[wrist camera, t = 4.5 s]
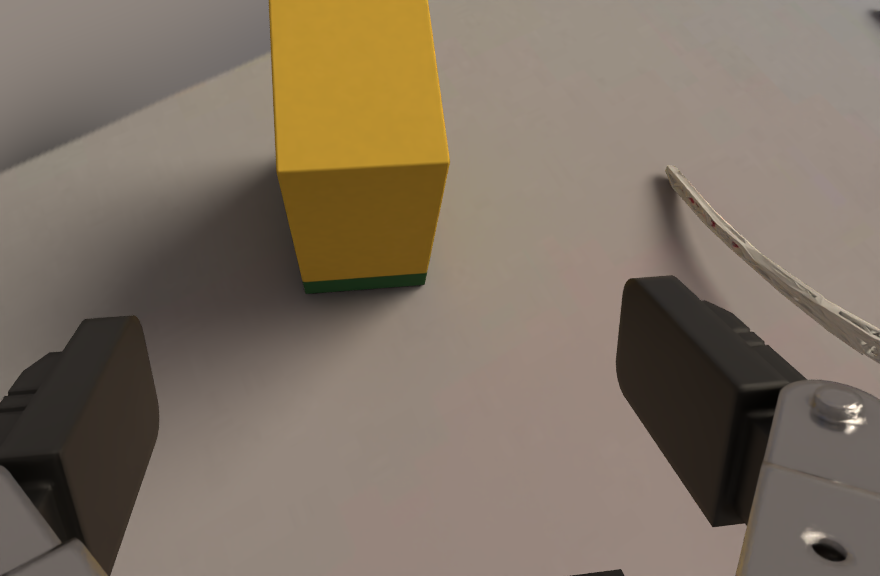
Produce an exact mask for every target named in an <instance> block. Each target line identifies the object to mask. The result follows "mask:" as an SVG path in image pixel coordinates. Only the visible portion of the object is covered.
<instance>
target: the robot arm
mask: <svg viewBox="0 0 880 576" xmlns="http://www.w3.org/2000/svg"><path fill="white" fill-rule="evenodd" d="M616 372H617V378H618V382H619V386H620V389H621V391H622V393H623V395H624V397H625V398H626V400H627V401H628V403H629V404H630V406H631V407H632V408H633V410H634V411H635V413H636V414H637V416H638V417H639V419H640V420H641V422H642V423H643V425H644V426H645V428H646V429H647V431H648V432H649V434H650V435H651V437H652V438H653V440H654V441H655V443H656V444H657V446H658V447H659V448H660V450H661V451H662V453H663V454H664V456H665V457H666V459H667V460H668V462H669V463H670V465H671V466H672V468H673V469H674V471H675V472H676V474H677V475H678V477H679V478H680V480H681V481H682V483H683V484H684V485H685V487H686V488H687V490H688V491H689V493H690V494H691V496H692V497H693V499H694V500H695V502H696V503H697V505H698V506H699V508H700V509H701V511H702V512H703V514H704V515H705V517H706V518H707V520H708V521H709V523H710V524H711V525H712V527H718V526H727V525H735V524H743V523H745V524H746V525H747V529H746V533H745V537H744V542H743V546H742V550H741V554H740V559H739V563H738V567H737V571H736V575H735V576H880V400H879V399H878V398H876V397H874V396H873V395H871V394H869V393H867V392H865V391H862V390H860V389H858V388H855V387H852V386H849V385H845V384H841V383H837V382H832V381H825V380H807V379H806V378H805V377H804V376H803V375H801V374H800V373H799V372H798V371H797V370H796V369H795V368H794V367H792V366H791V365H790V364H789V363H788V362H787V361H786V360H784V359H783V358H782V357H781V356H780V355H779V354H778V353H777V352H775V351H774V350H773V349H772V348H771V347H770V346H769V345H765V344H764V341H763V340H762V339H761V338H760V337H759V336H757V335H756V334H755V333H754V332H750V328H748V327H747V326H746V325H745V324H744V323H743V322H742V321H740V320H739V319H738V318H737V317H736V316H735V315H734V314H733V313H731V312H729V311H727V310H725V309H722V308H720V307H718V306H716V305H714V304H712V303H710V302H708V301H701V300H700V299H699V298H698V297H697V296H696V295H695V294H694V293H692V292H691V291H690V290H689V289H688V288H687V287H686V286H685V285H684V284H683V283H682V282H681V281H680V280H678V279H677V278H676V277H675V276H672V275H671V276H658V277H644V278H631V279H629V280H628V281H627V282H626V284H625V286H624V290H623V295H622V305H621V315H620V325H619V335H618V345H617V355H616ZM158 430H159V406H158V399H157V394H156V389H155V385H154V380H153V375H152V371H151V366H150V361H149V357H148V352H147V347H146V343H145V338H144V333H143V329H142V326H141V323H140V321H139V319H138V318H137V317H136V316H135V315H133V316H120V317H106V318H93V319H85V320H83V321H82V322H81V324H80V325H79V327H78V328H77V330H76V332H75V333H74V335H73V336H72V338H71V339H70V341H69V342H68V344H67V345H66V347H65V348H64V350H63V351H62V352H51V353H48V354H47V355H45V356H44V357H43V358H41V359H40V360H38V361H37V362H35V363H34V364H33V365H31V366H30V367H28V368H27V369H25V370H24V371H23V372H22V373H21V374H20V376H19V377H18V379H17V380H16V381H15V383H14V384H13V386H12V387H11V388H10V390H9V391H8V396H5V397H4V398H3V400H2V401H1V402H0V576H110V574H111V572H112V569H113V566H114V563H115V560H116V557H117V554H118V551H119V548H120V545H121V542H122V539H123V536H124V533H125V531H126V528H127V525H128V522H129V519H130V516H131V513H132V510H133V507H134V504H135V501H136V498H137V495H138V492H139V490H140V487H141V484H142V481H143V478H144V475H145V472H146V469H147V466H148V463H149V460H150V457H151V454H152V451H153V449H154V446H155V443H156V440H157V436H158ZM572 576H624V574H623V572H622V570H621V569H619V570H611V571H604V572H596V573H588V574H580V575H572Z"/></svg>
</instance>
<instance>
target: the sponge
mask: <svg viewBox="0 0 880 576" xmlns="http://www.w3.org/2000/svg"><path fill="white" fill-rule="evenodd" d="M269 18H270V38H271V62H272V84H273V106H274V128H275V150H276V172H277V176H278V180H279V184H280V189H281V193H282V197H283V201H284V205H285V210H286V214H287V218H288V222H289V226H290V231H291V235H292V239H293V243H294V247H295V252H296V256H297V260H298V264H299V269H300V273H301V277H302V281H303V285H304V290H305V293H306V294H311V293H324V292H337V291H350V290H363V289H376V288H389V287H402V286H415V285H424V284H425V280H426V275H427V270H428V265H429V260H430V256H431V251H432V246H433V241H434V236H435V231H436V227H437V222H438V217H439V212H440V207H441V203H442V198H443V193H444V188H445V183H446V178H447V174H448V169H449V164H450V159H449V152H448V144H447V137H446V130H445V122H444V115H443V108H442V100H441V93H440V86H439V78H438V71H437V64H436V56H435V49H434V42H433V35H432V27H431V20H430V13H429V5H428V0H269Z"/></svg>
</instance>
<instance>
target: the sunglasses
mask: <svg viewBox="0 0 880 576" xmlns="http://www.w3.org/2000/svg"><path fill="white" fill-rule="evenodd" d="M665 171H666V174H667V176H668V179H669V181H670V184H671V186H672V188H673V189H674V190H675V191H676V192H677V193H678V194H679V196H680V197H681V198H682V199H683V200H684V201H685V202H686V204H687V205H688V206H689V207H690V208H691V209H692V210H693V211H694V213H695V214H696V215H697V216H698V217H699V218H700V219H701V220H702V222H703V223H704V224H705V225H706V226H707V227H708V228H709V229H710V230H711V231H712V232H714V233H715V234H716V235H717V236H718V237H719V238H720V239H721V240H722V241H723V242H724V243H725V244H726V245H727V246H728V247H729V248H730V249H732V250H733V251H734V252H735V253H736V254H737V255H738V256H739V257H741V258H742V259H743V260H744V261H745V262H746V263H747V264H748V265H750V266H751V267H752V268H753V269H754V270H755V271H756V272H757V273H759V274H760V275H761V276H762V277H763V278H764V279H765V280H766V281H768V282H769V283H770V284H771V285H772V286H773V287H774V288H775V289H777V290H778V291H779V292H780V293H781V294H782V295H784V296H785V297H786V298H787V299H789V300H790V301H791V302H792V303H794V304H795V305H796V306H797V307H799V308H800V309H801V310H802V311H804V312H805V313H806V314H807V315H809V316H810V317H811V318H813V319H814V320H815V321H816V322H818V323H819V324H820V325H821V326H823V327H824V328H825V329H826V330H828V331H829V332H830V333H832V334H833V335H835V336H836V337H837V338H839V339H840V340H842V341H843V342H845V343H846V344H848V345H849V346H850V347H852V348H853V349H855V350H856V351H858V352H859V353H861V354H862V355H863V354H865V355H866V356H868V357H870V358H871V359H873V360H875V361H876V362H878V363H880V329H878V328H877V327H875V326H873V325H871V324H869V323H868V322H866V321H864V320H862V319H860V318H859V317H857V316H855V315H853V314H851V313H850V312H848V311H846V310H844V309H842V308H841V307H839V306H837V305H835V304H833V303H832V302H830V301H828V300H826V299H825V298H824V297H823V296H822V295H821V294H819V293H818V292H816V291H815V290H813V289H812V288H810V287H809V286H808V285H806V284H805V283H803V282H802V281H800V280H799V279H797V278H796V277H794V276H793V275H791V274H790V273H789V272H787V271H786V270H784V269H783V268H781V267H780V266H778V265H777V264H775V263H774V262H772V261H771V260H770V259H768V258H767V257H765V256H764V255H763V254H761V253H760V252H759V251H758V250H757V249H756V248H755V247H754V246H752V245H751V244H750V243H749V242H748V241H747V240H746V239H745V238H744V237H743V236H741V235H740V234H739V233H738V232H737V231H736V230H735V229H734V228H733V227H732V226H731V225H730V224H729V223H728V222H727V221H725V220H724V219H723V218H722V217H721V216H720V215H719V214H718V213H717V212H716V211H715V210H714V209H713V208H712V207H711V206H710V205H709V203H708V202H707V201H706V200H705V199H704V198H703V197H702V196H701V195H700V193H699V192H698V191H697V190H696V189H695V188H694V187H693V186H692V185H691V184H690V182H689V181H688V180H687V179H686V178H685V177H684V176H683V175H682V174H681V172H680V171H679V170H678V169H677V168H676V167H675V166H667V168H666V170H665ZM874 346H875V347H876V348H875V347H874ZM872 353H873V354H872ZM874 354H875V355H877V356H875V355H874Z"/></svg>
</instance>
